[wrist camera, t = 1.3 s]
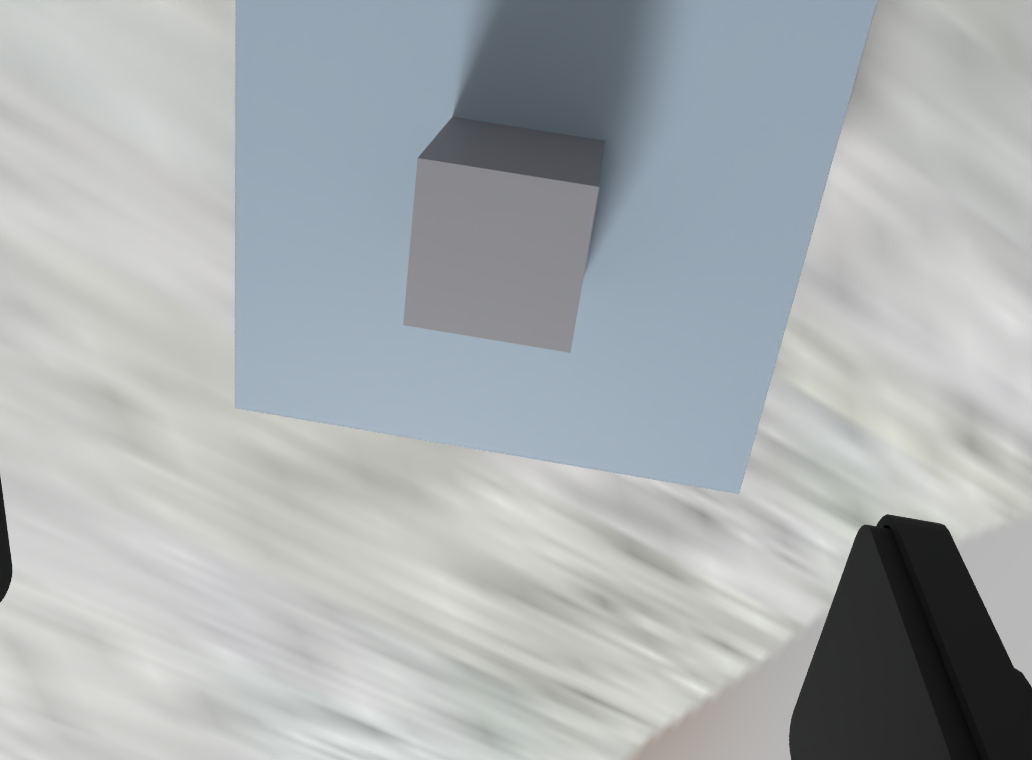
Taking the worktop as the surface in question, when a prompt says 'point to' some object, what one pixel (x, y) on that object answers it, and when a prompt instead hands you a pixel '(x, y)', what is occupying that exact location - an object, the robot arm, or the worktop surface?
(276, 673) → the worktop surface
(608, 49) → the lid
